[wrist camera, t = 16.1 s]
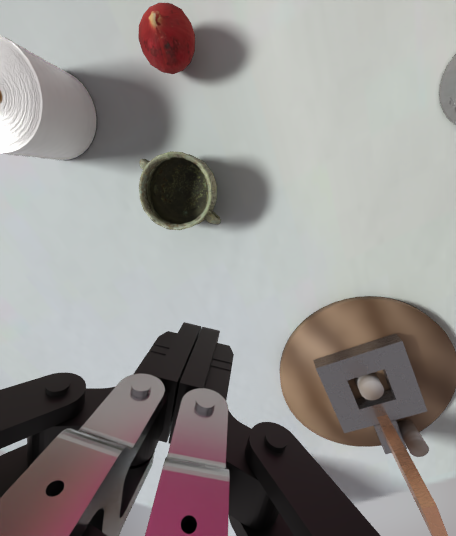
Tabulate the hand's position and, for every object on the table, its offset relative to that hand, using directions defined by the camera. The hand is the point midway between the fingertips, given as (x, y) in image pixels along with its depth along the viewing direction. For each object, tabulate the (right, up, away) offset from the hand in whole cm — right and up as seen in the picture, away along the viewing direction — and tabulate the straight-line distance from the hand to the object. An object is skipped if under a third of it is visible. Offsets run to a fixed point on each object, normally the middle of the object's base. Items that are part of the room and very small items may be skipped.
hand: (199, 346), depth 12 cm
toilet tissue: (-21, +23, +27) cm, 41 cm away
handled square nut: (+22, -15, +30) cm, 40 cm away
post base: (+21, -12, +32) cm, 40 cm away
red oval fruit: (-5, +28, +23) cm, 37 cm away
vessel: (-4, +13, +27) cm, 31 cm away
